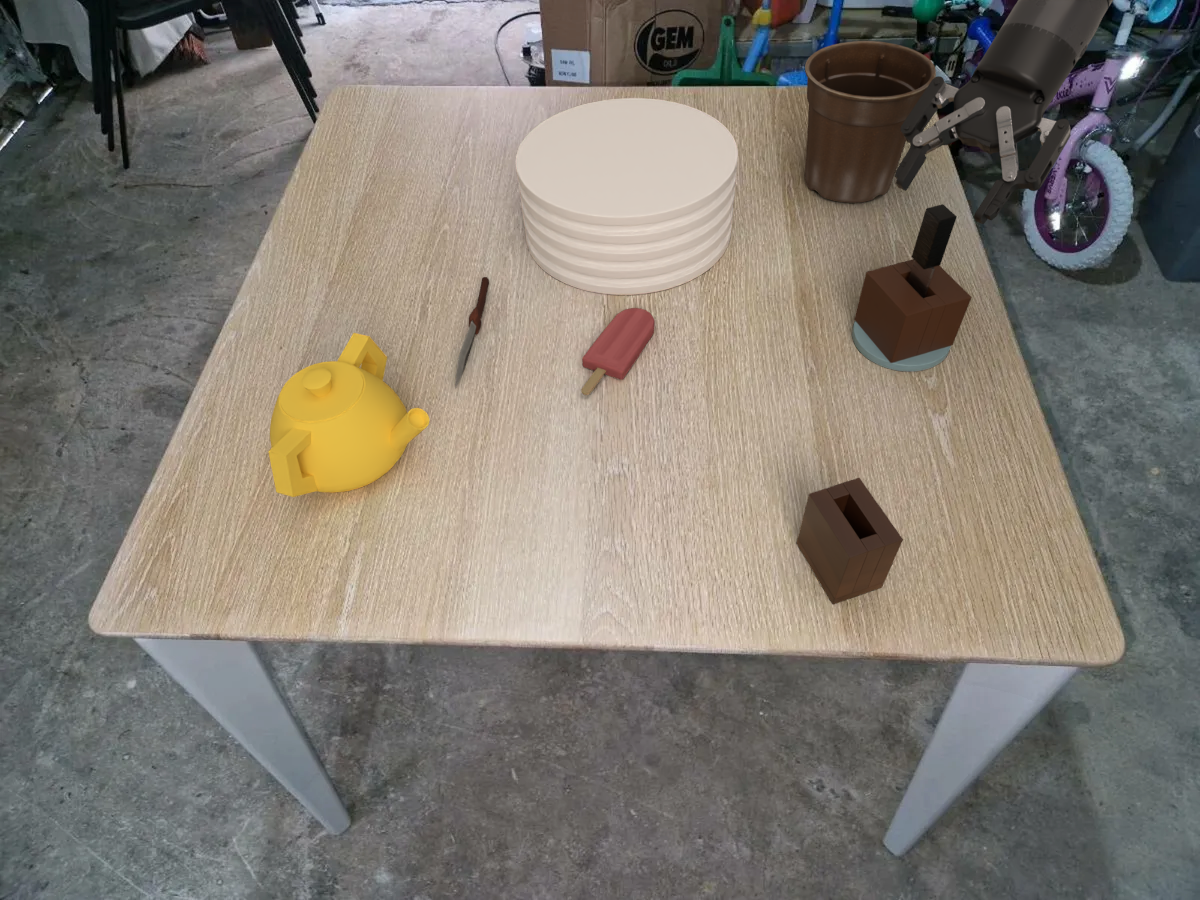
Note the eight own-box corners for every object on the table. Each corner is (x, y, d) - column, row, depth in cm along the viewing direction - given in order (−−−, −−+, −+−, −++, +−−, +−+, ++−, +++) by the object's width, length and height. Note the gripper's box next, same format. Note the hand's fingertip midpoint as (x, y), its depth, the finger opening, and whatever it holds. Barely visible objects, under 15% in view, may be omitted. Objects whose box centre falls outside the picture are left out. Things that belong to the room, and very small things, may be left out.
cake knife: (903, 321, 93) (941, 202, 81) (917, 337, 91) (959, 218, 79) (888, 325, 93) (924, 206, 81) (902, 342, 91) (941, 222, 79)
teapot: (403, 545, 78) (373, 477, 69) (241, 509, 82) (194, 440, 73) (478, 400, 90) (460, 326, 81) (333, 374, 94) (302, 301, 85)
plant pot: (783, 151, 120) (798, 40, 107) (892, 148, 119) (921, 36, 106) (795, 214, 109) (814, 99, 97) (915, 211, 108) (949, 96, 96)
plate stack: (574, 321, 98) (566, 242, 89) (498, 205, 114) (485, 130, 105) (770, 255, 104) (781, 176, 95) (671, 155, 121) (673, 79, 112)
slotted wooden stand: (915, 298, 97) (932, 244, 91) (969, 356, 90) (993, 302, 84) (834, 321, 95) (847, 266, 89) (884, 382, 89) (901, 328, 82)
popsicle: (562, 381, 89) (623, 302, 97) (563, 391, 90) (623, 311, 98) (604, 396, 87) (663, 314, 95) (605, 406, 88) (663, 324, 96)
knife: (463, 396, 90) (458, 377, 88) (449, 395, 91) (444, 376, 88) (495, 291, 102) (491, 272, 100) (483, 291, 102) (479, 272, 100)
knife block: (842, 527, 77) (859, 477, 70) (881, 587, 72) (903, 539, 66) (795, 543, 76) (808, 493, 70) (832, 604, 71) (849, 557, 65)
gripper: (963, 1, 74) (866, 164, 78) (1117, 45, 67) (1001, 220, 71) (975, 41, 80) (884, 189, 84) (1117, 84, 73) (1011, 243, 78)
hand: (938, 203), depth 78 cm, fingers open, 8 cm apart
